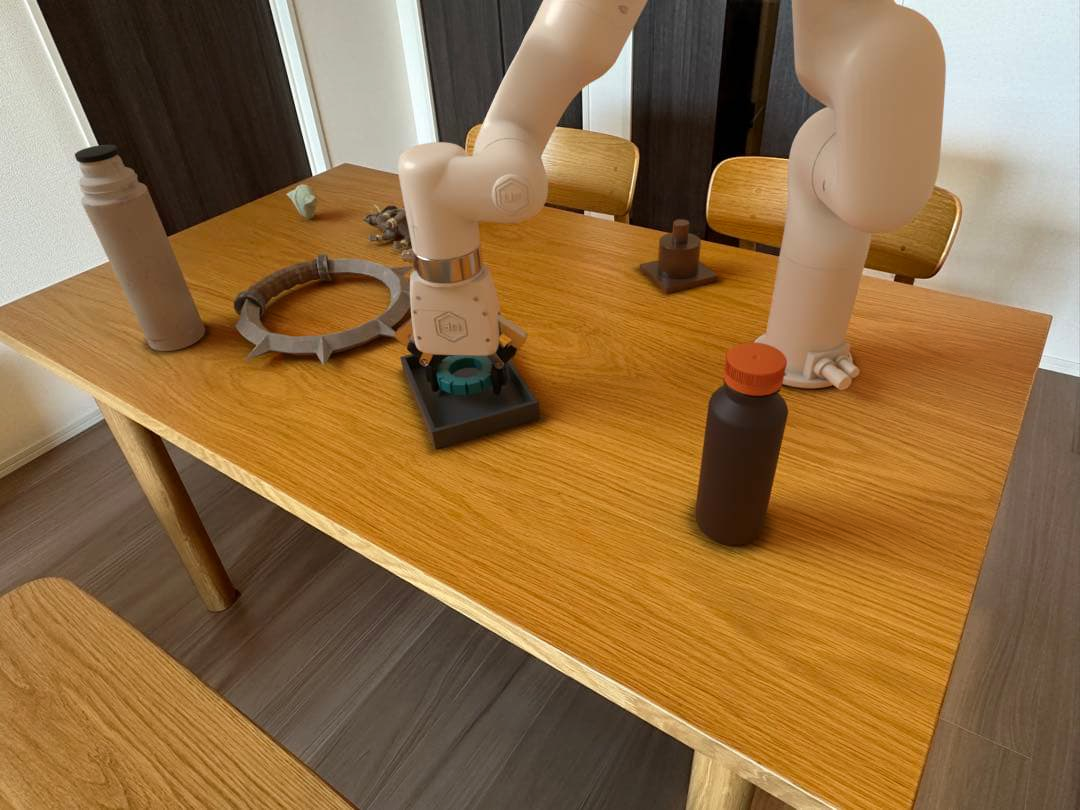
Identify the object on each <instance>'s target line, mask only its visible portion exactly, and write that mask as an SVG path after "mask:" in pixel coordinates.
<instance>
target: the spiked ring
mask: <svg viewBox="0 0 1080 810" xmlns="http://www.w3.org/2000/svg"><path fill="white" fill-rule="evenodd" d="M412 270H414V265H406V266H395V267H388V266H387V265H383V264H381V263H378V262H375V261H371V260H366V259H360V258H359V259H358V258H352V257H351V258H329V257H328V255H327V253H321V254H317V255H316V258H315V259H309V260H306V261H302V262H300V261H299V262H295V263H292V264H290V265H289V266H285V267H281V268H278V269H276V270H275V271H274V272H272V273H270V274H267V275H265V276H262V277H261V278H260V280H258V281H256V282H254V283H253V284H251V285H250V286H249V287H248V288H247V290H243V291H241V292H240V291H239V292H238V293H237V295H236V297H235V298H234V300H233V310H234V311H235V313H236V314H237V315H238V316H239V319H238V320H237V322H236V324H235V325H234V327H235V329H236V330H237V331H238V333H240V335H241V336H242V337H244V338H245V339H246V340H247V341H249V342H251V343H252V344H254V345H256V346H254V348H253V350H252V351H251V352H250V353H249V354H248V355H247V356H246V358H245V359H244V360H243V362H246V361H249V360H251V359H254V358H257V357H260V356H264V355H267V354H269V353H273V352H277V353H282V354H288V355H292V356H293V355H294V356H316V355H317V357H318V359H319V361H320V363H321V364H322V366H323V367H325V365H326V363H327V361H328V360H329V358H330V356H331V355H332V354H336V353H340V352H344V351H348V350H351V349H355V348H358V347H360V346H363V345H366V344H368V343H370V342H372V341H373V340H376V339H378V338H380V337H385V338H395V333H396V331H395V330H394V329H393V328H394V326H396V325H397V324H398V323H399V322H400V321H401V320H402V319H403V318H404V316H405V315H406V313H407V312H408V311H409V310H410V309H411V306H410V282H409V281H408V280H407V279H406V278H405V277H404V276H405V275H406V274H408V273H409V272H411V271H412ZM349 276H350V277H351V276H353V277H361V278H362V277H363V278H370V279H373V280H377V281H380V282H382V283H384V284H385V286H387V288H388V289H389V292H390V303H389V306H388V307H387V308H386V310H385V311H383V312H382V313H381V314H379V315H378V316H376V317H375V318H373V319H370V320H369V321H366V322H364V323H362V324H360V325H358V326H355V327H352V328H349V329H344V330H342V331H338V332H333V333H327V334H322V335H321V334H320V335H303V336H302V335H301V336H293V335H292V336H291V335H287V334H286V335H285V334H279V333H273V332H271V331H269V330H268V329H267V328H266V327H265V326H264V325H263V323H262V321H261V319H260V318H261V317H262V316H263V315H264V314H265V312H266V308H267V307H266V306H267V304H268V303H269V302H270V301H271V300H272V298H276V297H277V296H279V295H280V294H281V293H283V292H284V291H290V290H291V289H292V288H294V287H296V286H298V285H299V286H302V285H304V284H307V283H309V282H311V281H319V280H320V281H321V283H326V282H327V283H329V282H331V281H332V280H333V279H332V277H349Z"/></svg>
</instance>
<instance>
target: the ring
mask: <svg viewBox="0 0 1080 810" xmlns="http://www.w3.org/2000/svg"><path fill="white" fill-rule="evenodd" d="M491 367H492V362H491V361H490V360H489V358H488V357H487V356H457V355H452V357H451V356H448V357H446V358H445V359H443V360H442V361H441V363H439V365H438V367H437V369H436V377H437V382H438V384H439V386H440V388H442V390H444V391H446V392H448V393H450V394H452V393H454V395H467V392H468V393H469V395H471V394H475V393H479V392H482V390H481V389H483V390H486V389H487V388H488V387H490V386H491V385H492V378H491ZM464 368H476V369H478V370H480V372H479V373H477V374H476V375H474V376H470V377H467V378H463V377H455V376H453V375H452V374H453V373H455V372H456V371H458V370H460V369H464Z"/></svg>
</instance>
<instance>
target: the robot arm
mask: <svg viewBox="0 0 1080 810" xmlns="http://www.w3.org/2000/svg"><path fill="white" fill-rule="evenodd" d="M648 1H649V0H542V2H541V4H540V6H539V9H538V10H537V12H536V14H535V16H534V19H533V21H532V22H531V25H530V27H529V28H528V30H527V31H526V33H525V35H524V37H523V39H522V42H521V44H520V46H519V48H518V50H517V52H516V54H515V55H514V58H513V60H512V61H511V63H510V65H509V67H508V69H507V71H506V73H505V75H504V77H503V79H502V80H501V83H500V84H499V87H498V89H497V91H496V93H495V95H494V98H493V100H492V101H491V103H490V107H489V108H488V111H487V113H486V116H485V117H484V120H483V122H482V124H481V127H480V129H479V132H478V133H477V137H476V139H475V141H474V146H473V150H472V155H469V154H468V153H467V151H466V150H465V149H464V148H463V147H462V146H460V145H459V144H456V143H453V142H444V141H440V142H439V141H435V142H426V143H421V144H417V145H414V146H412V147H410V148H408V149H406V150H405V151H404V152H402V153H401V154H400V156H399V158H398V161H397V173H398V174H397V175H398V181H399V185H400V190H401V195H402V202H403V204H404V207H405V208H404V209H405V212H406V218H407V223H408V228H409V233H410V239H411V243H410V244H411V248H409V249H403V250H402V251H401V252H402V253H401V259H402V261H403V262H404V263H409V264H412V266H414V268H413V271H412V272H411V274H410V276H409V284H410V314H411V318H409V319H408V320H407V321H406V322H404V323H403V324H402V325H400V326H399V327H398V328H397V330H396V331H395V332H396V333H395V337H394V338H395V339H396V340H397V341H398V342H399V343H401V344H402V345H403V346H404V347H406V349H407V351H408V352H409V353H410V354H413V355H414V356H415V357H417V358H418V359H419V360H420V364H421V365H423V366H424V367H425V372H426V377H427V381H428V382H430V383H431V388H432V392H437V391H439V388H440V386H439V384H438V382H437V377H436V369H437V367H438V365H439V363H441V359H440V355H457V356H487V357H488V358H489V360H490V361H491V362H492V367H491V378H492V386H493V393H495V395H499V394H500V391H501V388H502V385H506V383H507V372H506V362H508V361H509V360H510V359H511V360H512V359H513V357H514V356H515V355H516V354H517V352H518V351H519V350H521V348H522V347H523V346H524V344H526V342H527V339H528V333H527V331H525V330H524V329H523V328H521V327H519V326H517V325H516V324H515V323H513V322H511V320H508V319H507V318H506V317H504V316H503V315H502V310H501V306H500V301H499V296H498V292H497V288H496V285H495V281H494V279H493V278H494V277H493V276H492V272H491V270H490V268H489V265H488V264H486V263H484V262H483V261H484V260H483V254H482V245H481V237H480V228H479V222H486V223H494V224H519V223H522V222H523V223H524V222H526V221H529V220H530V219H532V218H534V217H535V216H537V215H538V214H539V213H540V211H542V210H543V208H544V206H545V204H546V203H547V200H548V199H547V198H548V195H549V181H548V177H547V172H546V168H545V165H544V161H543V159H542V156H543V153H544V151H545V149H546V147H547V145H548V143H549V141H550V139H551V138H552V135H553V134H554V132H555V130H556V128H557V126H558V124H559V122H560V120H561V118H562V116H563V114H564V113H565V111H566V110H567V108H568V107H569V106H570V104H571V102H572V101H573V100H574V98H576V96H577V95H578V94H579V93H580V92H581V91H582V90H584V88H585V87H587V86H589V85H590V84H591V83H593V82H595V81H597V80H598V79H600V78H602V77H603V76H604V75H606V74H607V73H608V71H610V69H612V68H613V67H614V65H615V64H616V62H617V61H618V59H619V56H620V54H621V52H622V51H623V48H624V47H625V45H626V43H627V41H628V39H629V37H630V35H631V33H632V31H633V29H634V27H635V26H636V24H637V22H638V21H639V18H640V17H641V14H642V12H643V10H644V9H645V7H646V5H647V4H648V3H647V2H648ZM791 14H792V34H793V58H794V60H793V61H794V69H795V70H794V71H795V74H796V77H797V80H798V82H799V84H800V86H801V87H802V89H804V90H805V92H806V93H808V95H810V96H811V97H812V98H814V99H815V100H816V101H818V102H819V103H821V104H822V105H824V106H826V107H824V108H822V109H820V110H817V111H816V112H815V113H813V114H812V115H811V116H810V117H809V118H808V119H806V121H805V122H804V123H803V124H802V126H801V127H800V128H799V129H798V131H797V133H796V135H795V137H794V138H793V141H792V144H791V147H790V151H789V155H788V163H787V164H788V165H787V199H786V201H787V202H786V213H785V221H784V227H783V235H782V241H781V246H780V250H779V256H778V263H777V268H776V274H775V278H774V285H773V291H772V297H771V303H770V309H769V314H768V319H767V320H768V321H767V325H766V332H765V333H763V334H761V335H759V336H758V337H756V339H755V340H754V341H753V342H755V343H762V344H767V345H770V346H772V347H775V348H776V349H778V350H780V351H781V352H782V353H783V354H784V356H785V357H786V360H787V364H786V369H785V374H784V379H783V383H782V385H785V386H788V387H793V388H799V389H822V388H827V387H832V386H834V387H835V388H837V390H839V391H845V390H847V389H848V388H849V387H850V386H851V384H852V382H853V379H854V378H856V377H857V376H858V375H859V374H860V372H861V369H860V368H859V367H858V366H856V365H855V364H854V363H853V362H854V361H853V356H852V354H851V352H850V350H851V345H850V344H849V343H848V342H846V338H847V334H848V330H849V328H850V327H849V326H850V323H851V318H852V315H853V311H854V308H855V304H856V299H857V296H858V292H859V287H860V284H861V281H862V276H863V272H864V268H865V264H866V261H867V258H868V254H869V250H870V246H871V241H872V236H873V234H878V235H879V234H886V233H890V232H891V233H892V232H893V231H896V230H899V229H901V228H903V227H905V226H906V225H908V224H909V223H910V222H911V221H913V220H914V219H915V218H916V217H917V216H918V215H919V214H920V213H921V212H922V211H923V209H924V208H925V207H926V205H927V203H928V202H929V200H930V198H931V196H932V194H933V191H934V189H935V186H936V183H937V179H938V174H939V168H940V160H941V150H942V149H941V148H942V136H943V121H944V110H945V109H944V108H945V94H946V77H947V74H946V73H947V68H946V67H947V65H946V64H947V63H946V54H945V50H944V46H943V42H942V39H941V37H940V35H939V32H938V30H937V29H936V27H935V26H934V24H933V23H932V22H931V20H930V19H928V18H927V17H926V16H925V15H924V14H922V13H920V12H918V11H917V10H915V9H913V8H910V7H907V6H904V5H901V4H898V3H897V2H896V1H895V0H791ZM502 335H504V336H506V337H507V338H509V339H510V341H509V342H507V343H506V344H505V345H503V343H502V341H501V340H500V337H501V336H502Z"/></svg>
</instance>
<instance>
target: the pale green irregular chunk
mask: <svg viewBox="0 0 1080 810" xmlns="http://www.w3.org/2000/svg"><path fill="white" fill-rule="evenodd" d="M286 195H287V197H288V198H289V199H290V201H292V203H293V205H294V206H295V208H296V209H297V211H298V213H299V215H301V216H302V217H303V218H305V219H307V220H310V219H313V218H314V217H315V214H316V211H317V205H318V199H317V195H316V192H315V190H314V189H313V188H312V187H311V186H309V185H308V184H306V183H305V184H299V185H297V186H296V187H295V189H293V190H290V191H288V192H287V193H286Z"/></svg>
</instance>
